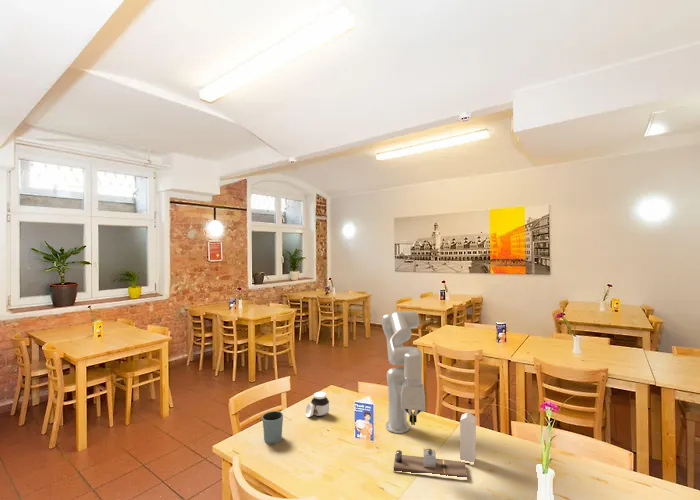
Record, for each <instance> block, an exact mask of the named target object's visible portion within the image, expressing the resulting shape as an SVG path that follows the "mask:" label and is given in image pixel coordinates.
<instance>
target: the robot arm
mask: <svg viewBox="0 0 700 500" xmlns="http://www.w3.org/2000/svg"><path fill="white" fill-rule="evenodd" d="M419 324H420V318H419V315H418V313H417V312H416V311H414V310H410V311H409V310H403V311H401V310H399V311H395V312H393V313H385V314H384V315H383V316H382V318H381V326H382V331H383V333H384V335H385V338H386V347H387V348H386V349H387V357H388V358H387V359H388V363H390V365H393V366H398V367H391V368H389V369H388V370H387V372H386V381H387V389H388V390H387V392H388V395H387V397H388V398H387V399H388V421H387V422H386V423H385V429H386V430H387V431H389V432H390V433H393V432H394V434H404V432H405V433H407V432H409V431H410V429H411V428H410V427H411V426H415V425H416V423H417V421H418V420H417V417H418V415H419V414H420V413H422V412H426V409H427V408H426V395H425V386H424V384H423V383H422V382H423V373H422V372H423V364H422V363H423V361H422V360H423V357H422V355H423V354H422V351H421V350H420V348H418V347H415V346H414V347H413V346H404V343H406V342H407V341H409V340H410V339H411V337H412V335H413V333H412V329H416V328H418V327H419ZM399 366H402V367H399ZM412 410H413V411H414V412H413V411H412ZM407 414H408V416H409V422H410V424H409V423H408V420H407ZM410 425H411V426H410ZM409 428H410V429H409Z"/></svg>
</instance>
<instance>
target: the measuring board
mask: <svg viewBox="0 0 700 500" xmlns="http://www.w3.org/2000/svg"><path fill="white" fill-rule="evenodd" d="M394 471H402V472H411V473H432V474H440V475H446V476H447V475H448V476H457V477H467V478H468V474H467V472H468V471H467V467H466V464H465V462H461V461H460V460H450V459H442V458H441V459H440V458H436V468H430V467H424V456H418V455H417V456H416V455H405V454H402V462H400V463H399V462H397V461H396V453H395V454H394V461H393V472H394Z"/></svg>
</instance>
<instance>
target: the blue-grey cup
mask: <svg viewBox="0 0 700 500" xmlns="http://www.w3.org/2000/svg"><path fill="white" fill-rule="evenodd" d="M261 418H262V419H261V420H262V427H263V428H262V429H263V439H264V442H265V444H269V445H274V444H278V443H280V442H281V441H282V438H283V434H282V433H283V420H284V414H283V412H282V411H279V410H272V411H268V412H265V413H263V415H262V417H261Z"/></svg>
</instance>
